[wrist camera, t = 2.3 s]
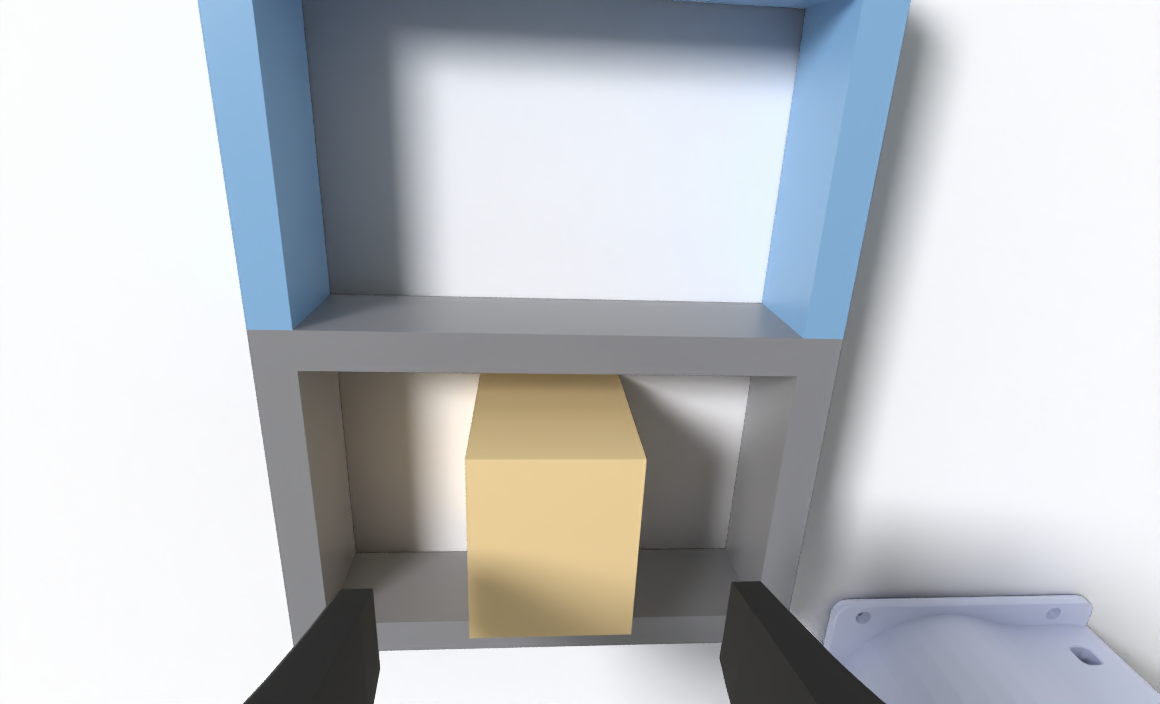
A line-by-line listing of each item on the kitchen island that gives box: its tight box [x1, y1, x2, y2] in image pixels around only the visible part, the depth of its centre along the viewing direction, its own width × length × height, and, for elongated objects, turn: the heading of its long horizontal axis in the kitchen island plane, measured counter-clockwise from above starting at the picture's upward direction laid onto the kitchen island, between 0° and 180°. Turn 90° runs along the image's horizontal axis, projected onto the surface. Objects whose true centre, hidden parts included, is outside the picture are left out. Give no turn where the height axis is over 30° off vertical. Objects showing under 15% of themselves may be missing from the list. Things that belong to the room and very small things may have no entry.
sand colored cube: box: [465, 373, 647, 638], centre depth 17 cm, size 4×5×5 cm
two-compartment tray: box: [198, 0, 911, 651], centre depth 17 cm, size 14×18×3 cm
